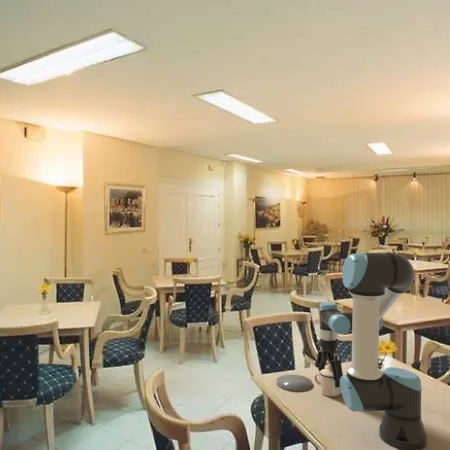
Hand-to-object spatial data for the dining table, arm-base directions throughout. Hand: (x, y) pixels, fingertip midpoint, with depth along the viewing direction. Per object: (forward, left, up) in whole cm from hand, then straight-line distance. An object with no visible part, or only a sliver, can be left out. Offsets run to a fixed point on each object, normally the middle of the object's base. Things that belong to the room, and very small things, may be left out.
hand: (329, 389), depth 178 cm
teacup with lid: (+1, 0, -2) cm, 2 cm away
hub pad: (+14, +9, -2) cm, 17 cm away
